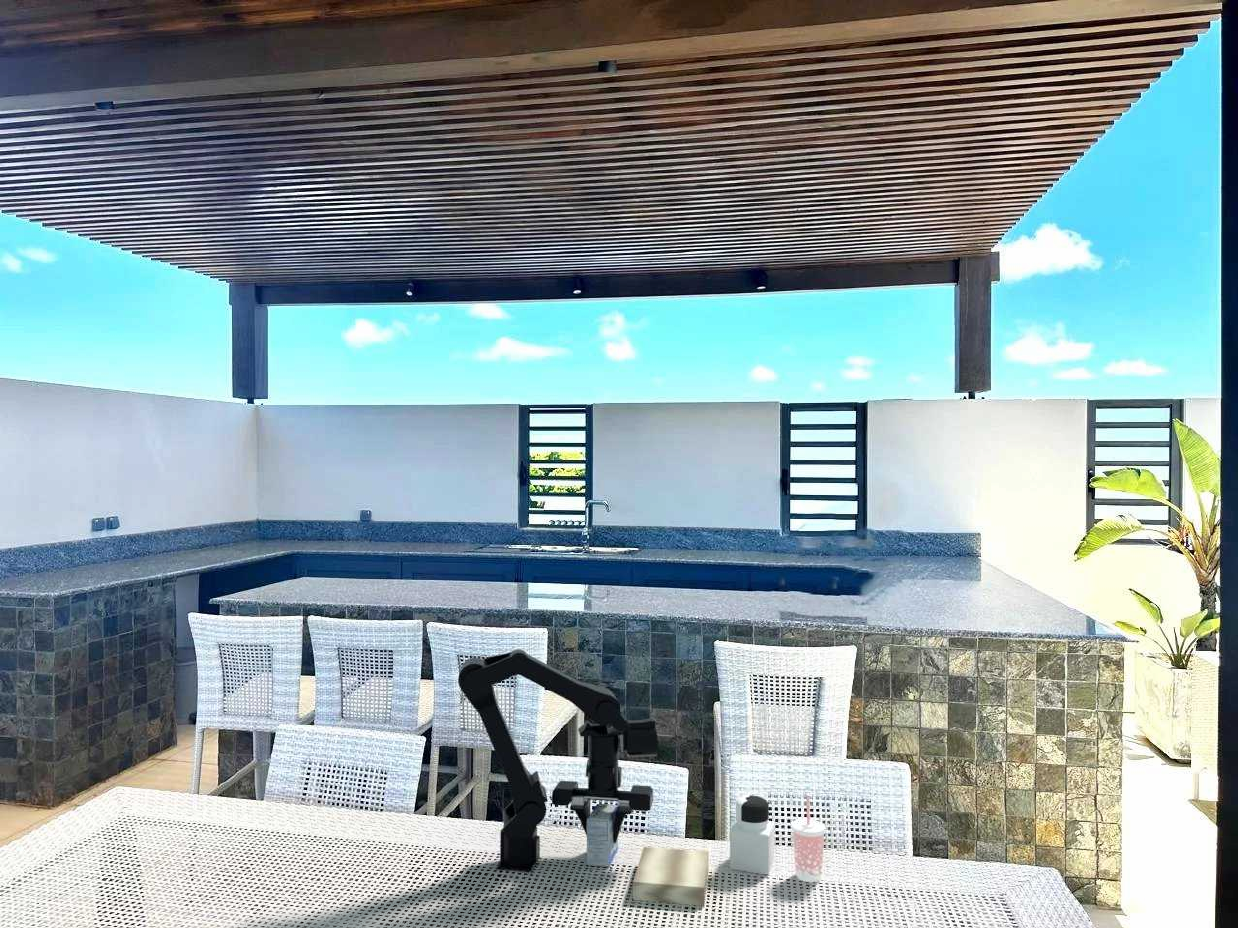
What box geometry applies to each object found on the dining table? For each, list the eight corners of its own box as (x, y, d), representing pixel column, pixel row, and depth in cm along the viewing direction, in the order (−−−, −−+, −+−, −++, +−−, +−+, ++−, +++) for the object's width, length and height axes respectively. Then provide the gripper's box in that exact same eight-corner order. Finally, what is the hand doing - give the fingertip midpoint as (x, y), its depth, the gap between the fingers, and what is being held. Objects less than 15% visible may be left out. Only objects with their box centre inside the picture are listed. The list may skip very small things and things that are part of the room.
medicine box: (609, 868, 147) (610, 819, 147) (586, 865, 148) (586, 817, 148) (618, 849, 154) (618, 804, 155) (595, 847, 155) (596, 802, 156)
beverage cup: (827, 885, 140) (826, 804, 141) (791, 882, 142) (791, 801, 142) (825, 870, 146) (824, 792, 147) (791, 866, 148) (790, 789, 148)
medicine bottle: (774, 859, 151) (774, 794, 151) (768, 875, 144) (768, 808, 145) (737, 853, 153) (736, 790, 154) (729, 869, 146) (729, 803, 147)
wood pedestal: (633, 899, 135) (633, 881, 135) (643, 863, 149) (643, 846, 149) (704, 905, 133) (704, 887, 133) (708, 868, 147) (708, 851, 147)
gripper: (656, 747, 158) (656, 827, 158) (565, 742, 161) (564, 821, 161) (649, 765, 147) (649, 852, 147) (551, 759, 150) (550, 844, 150)
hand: (602, 841), depth 151 cm, fingers closed on medicine box, 4 cm apart
